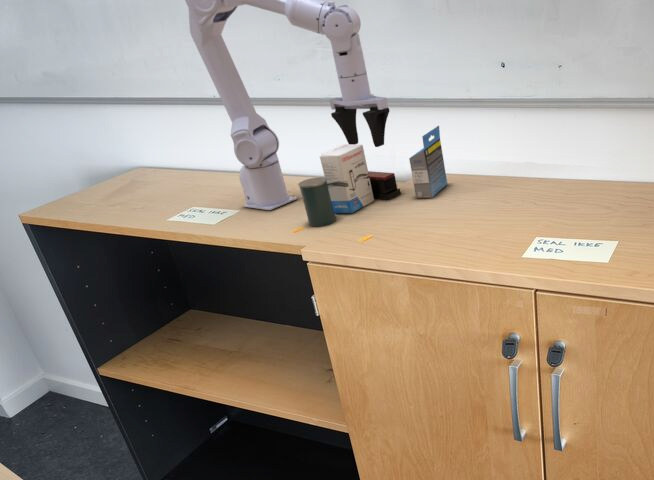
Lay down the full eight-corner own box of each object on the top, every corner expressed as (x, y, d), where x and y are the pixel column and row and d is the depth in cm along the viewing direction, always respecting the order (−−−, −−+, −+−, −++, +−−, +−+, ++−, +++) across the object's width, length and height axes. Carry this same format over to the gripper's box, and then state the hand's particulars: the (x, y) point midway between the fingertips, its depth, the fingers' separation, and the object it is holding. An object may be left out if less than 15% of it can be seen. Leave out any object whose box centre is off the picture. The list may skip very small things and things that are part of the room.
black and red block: (348, 196, 148) (343, 175, 146) (361, 190, 150) (356, 169, 148) (388, 200, 141) (384, 178, 139) (401, 194, 143) (397, 172, 141)
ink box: (351, 214, 136) (338, 155, 130) (332, 213, 138) (318, 155, 132) (375, 200, 142) (363, 143, 136) (356, 199, 144) (343, 143, 139)
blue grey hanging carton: (431, 185, 146) (422, 126, 140) (448, 184, 145) (439, 125, 139) (415, 198, 139) (404, 137, 133) (432, 198, 138) (422, 136, 132)
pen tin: (303, 225, 134) (292, 184, 130) (323, 216, 138) (313, 176, 133) (321, 228, 131) (311, 186, 127) (341, 218, 134) (332, 178, 130)
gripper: (392, 69, 132) (405, 141, 139) (341, 72, 141) (356, 139, 148) (367, 77, 128) (381, 150, 135) (316, 79, 136) (332, 147, 143)
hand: (366, 145), depth 141 cm, fingers open, 7 cm apart
